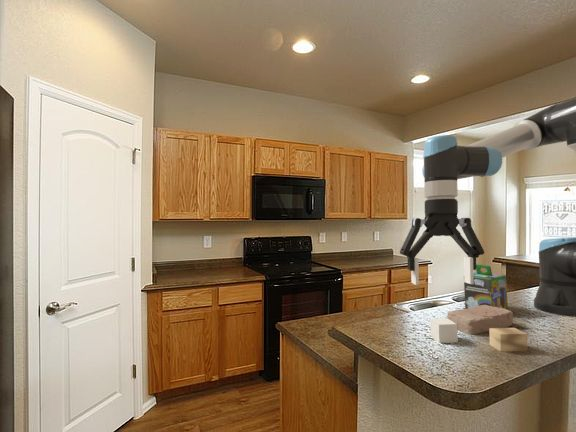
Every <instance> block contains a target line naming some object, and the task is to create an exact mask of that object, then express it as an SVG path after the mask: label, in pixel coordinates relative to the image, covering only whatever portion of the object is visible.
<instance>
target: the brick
mask: <svg viewBox="0 0 576 432" xmlns="http://www.w3.org/2000/svg"><path fill="white" fill-rule="evenodd" d="M513 314H514V313H513V311H512V310H510V309H508V310H506V309H503V308H498V307H492V306H488V305H480V306H475V307H473V308H468V309H465V308H462V309H461V308H460V309H455V310H451V311H448V312H447V315H446V319H449V320H451V321H453V322H454V323H456V324H457V331H459V330H460V331H459V332H461V331H462V332H461V333H463V332H464V333H463V334H465V335H469V334H470V335H479V334H482V333H487V331H488V332H489V328H509V327H511V326H512V325H513V319H514V316H513ZM478 333H479V334H478Z"/></svg>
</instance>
